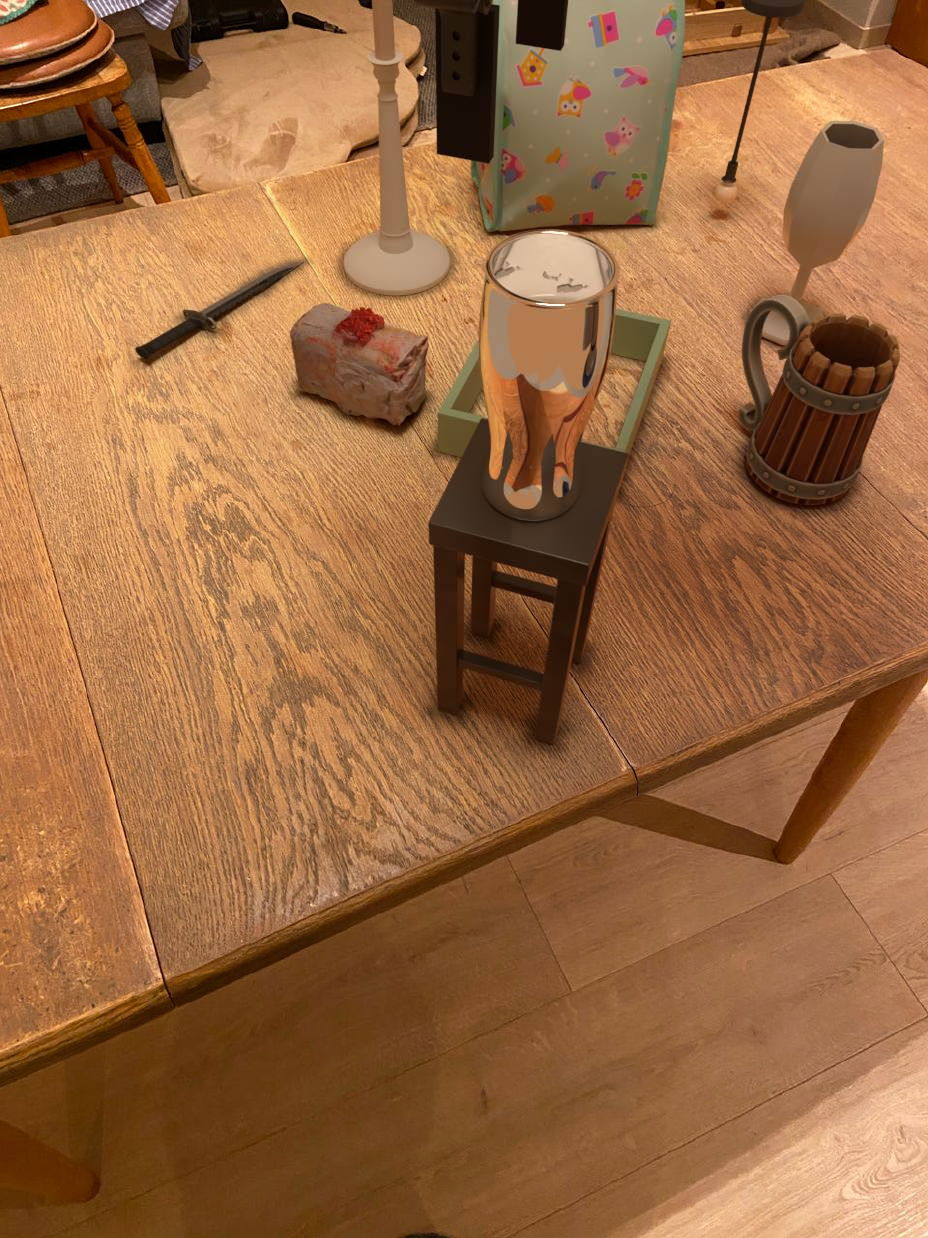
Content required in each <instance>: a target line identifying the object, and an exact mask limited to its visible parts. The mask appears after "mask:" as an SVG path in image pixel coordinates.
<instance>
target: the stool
mask: <svg viewBox="0 0 928 1238" xmlns="http://www.w3.org/2000/svg"><path fill="white" fill-rule="evenodd" d="M489 448H490V429H489V422H488V419H484V418H481V420H480V421H479V423H478V425H477V427H476V429H475V431H474V433H473V435H472V437H471V439H470V441H469V443H468V445H467V447H466V449H465V451H464V453H463V455H462V457H460V459H459V461H458V463H457V465H456V467H455V469H454V470H453V473H452V475H451V477H450V479H449V481H448V483H447V485H446V486H445V489H444V490H443V492H442V495H441V497H440V499H439V501H438V503H437V505H436V506H435V509H434V510H433V513H432V514H431V516H430V518H429V520H428V522H427V524H428V528H427V529H428V544H429V545H431V546H432V553H433V554H432V555H433V557H432V558H433V589H434V590H433V591H434V623H435V624H434V625H435V656H436V657H435V658H436V659H435V661H436V693H437V695H436V696H437V710H438V711H442V712H445V713H448V714H452V715H455V716H456V715H458V712H459V710H460V708H461V705H462V702H463V699H464V670H466V671H469V672H473V673H477V674H480V675H484V676H487V677H490V678H494V679H497V680H500V681H504V682H507V683H511V684H514V685H518V686H521V687H524V688H528V689H531V690H534V691H537V692H540V696H539V702H538V709H537V714H536V715H537V716H536V723H535V728H534V729H535V730H534V737H533V739H534V740H536V741H539V742H542V743H546V744H549V745H554V744H555V742H556V739H557V736H558V733H559V730H560V725H561V720H562V714H563V710H564V704H565V699H566V694H567V689H568V683H569V678H570V672H571V667H572V663H574V664H578V665H580V664H581V662H582V660H583V657H584V654H585V650H586V647H587V642H588V638H589V631H590V627H591V622H592V617H593V612H594V607H595V602H596V597H597V593H598V588H599V584H600V579H601V574H602V568H603V565H604V564H603V563H604V559H605V554H606V549H607V544H608V540H609V535H610V530H611V526H612V521H613V515H614V510H615V506H616V501H617V499H618V496H619V492H620V489H621V486H622V483H623V480H624V477H625V473H626V470H627V464H628V460H629V457H628V453H625V452H621V451H617V450H613V449H608V448H604V447H600V446H596V445H592V444H588V443H583V442H581V444H580V449H579V469H580V483H581V485H580V493H579V496H578V498H577V500H576V502H575V503H574V505H573V506H572V507H571V508H570V509H569V510H568V511H566V512H565V513H563V514H561V515H559V516H557V517H555V518H551V519H547V520H542V521H525V520H519V519H515V518H512V517H509V516H507V515H505V514H503V513H501V512H499V511H498V510H496V509H495V508H494V507H493V506H492V505H491V504H490V503H489V502H488V500H487V499H486V497H485V495H484V493H483V489H482V475H483V471H484V467H485V464H486V460H487V457H488V453H489ZM466 555H467V556H471V558H472V559H471V595H470V597H471V598H470V599H471V600H470V633H471V634H475V635H477V636H481V637H485V638H489V637H490V634H491V631H492V630H493V627H494V625H495V612H496V611H495V610H496V597H497V589H499V590H503V591H506V592H509V593H513V594H517V595H519V596H524V597H527V598H531V599H534V600H538V601H542V602H546V603H549V604H553V607H552V613H551V621H550V628H549V635H548V641H547V648H546V655H545V662H544V669H543V672H541V671H538V670H534V669H530V668H527V667H523V666H520V665H517V664H514V663H510V662H507V661H504V660H500V659H496V658H493V657H490V656H488V655H483V654H479V653H476V652H473V651H470V650H466V649H464V647H465V646H464V645H465V644H464V643H465V587H466V586H465V583H466V582H465V580H466V579H465V576H466ZM499 564H501V565H504V566H508V567H511V568H515V569H518V570H523V571H527V572H530V573H534V574H537V575H541V576H545V577H549V578H552V579H556V586H555V585H551V584H547V583H544V582H541V581H536V580H533V579H530V578H525V577H522V576H518V575H514V574H511V573H507V572H504V571H500V570H498V565H499Z"/></svg>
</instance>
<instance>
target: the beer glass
mask: <svg viewBox="0 0 928 1238" xmlns="http://www.w3.org/2000/svg"><path fill="white" fill-rule="evenodd" d="M620 272H621V271H620V265H619V261H618V259H617V257H616V256H615V254H614V253H613V252H612V251H611V250H610V249H609V248H608V247H606V246H605V245H604V244H602V243H601V242H600V241H598V240H596V239H594V238H592V237H590V236H587V235H584V234H582V233H578V232H574V231H570V230H563V229H555V228H554V229H553V228H552V229H551V228H550V229H549V228H546V229H544V228H543V229H531V230H525V231H521V232H518V233H514V234H512V235H509V236H507V237H505V238H503V239H502V240H500V241H498V242H497V243H496V244H495V245H494V246H493V247H492V248H491V249H490V250H489V251H488V253H487V254H486V257H485V259H484V275H483V284H482V291H481V300H480V309H479V322H478V337H477V338H478V339H479V366H480V375H481V383H482V389H481V390H482V394H483V401H484V405H485V410H486V415H487V416H486V417H487V418H488V422H489V429H490V448H489V453H488V457H487V460H486V464H485V467H484V471H483V475H482V489H483V493H484V495H485V497H486V499H487V500H488V502H489V503H490V504H491V505H492V506H493V507H494V508H495V509H496V510H498V511H499V512H501V513H503V514H505V515H507V516H509V517H512V518H515V519H519V520H525V521H542V520H547V519H551V518H555V517H557V516H559V515H561V514H563V513H565V512H566V511H568V510H569V509H570V508H571V507H572V506H573V505H574V503H575V502H576V500H577V498H578V496H579V493H580V485H581V483H580V469H579V449H580V444H581V440H583V437H584V434H585V431H586V429H587V425H588V423H589V421H590V419H591V416H592V413H593V411H594V408H595V406H596V403H597V400H598V398H599V395H600V393H601V389H602V386H603V384H604V380H605V377H606V374H607V371H608V368H609V367H608V366H609V361H610V357H611V354H610V353H611V348H612V341H613V334H614V326H615V315H616V309H617V302H618V287H619V278H620ZM478 339H477V340H478Z"/></svg>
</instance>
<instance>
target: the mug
mask: <svg viewBox="0 0 928 1238" xmlns="http://www.w3.org/2000/svg"><path fill="white" fill-rule="evenodd" d="M770 297H771V298H769V299H767V300H765V301H763V302H760V303H759V304H758V305H756V304H755V305H756V306H755V305H754V306H753V307H752V309H753V310H752V309H751V310H752V311H751V310H750V311H751V313H750V314H749V313H748V316H747V318H746V321H745V324H744V327H743V328H744V329H743V334H742V342H741V362H742V368H743V372H744V376H745V379H746V383H747V385H748V389H749V392H750V394H751V397H752V401H753V402H754V404H753V403H752V402H748V403H746V404H744V405H741V406H740V407H739V408H738V415H737V416H738V419H739V422H740V424H741V425H742V426H743V428H745V429H746V430H747V431H751V432H752V434H751V436H750V438H749V441H748V443H747V447H746V452H745V453H746V454H745V459H746V461H745V466H746V470H747V471H748V473H749V476H750V477H751V478H752V479H753V480H754V482H755V483H756V484H757V485H758V486H759V487H760V488H761V489H762V490H763V491H765V492H766V493H768V494H770V495H771V496H773V497H774V498H777V499H779V500H781V501H783V502H787V503H791V504H795V505H804V506H817V505H824V504H827V503H832V502H835V501H836V500H839V499H841V498H842V497H844V496H845V495H846V494H847V491H849V490H850V489H851V487H852V486H853V485H854V483H856V480H857V478H858V476H859V473H860V470H861V468H862V466H863V461H864V454H865V452H866V449H867V447H868V444H869V440H870V439H871V436H872V433H873V431H874V428H875V426H876V423H877V420H878V418H879V416H880V413H881V411H882V408H883V405H884V404H885V403H886V401H887V399H888V397H889V396H890V392H891V390H892V387H893V386H894V385H893V384H894V383H895V380H896V371H897V370H898V369H897V368H898V366H899V364H900V360H901V351H900V344H899V343H900V342H899V341H898V338H897V337H896V336H895V335H893V334H889V331H888V329H887V327H886V326H884V325H883V324H881V323H879V322H873V323H872V324H870V322H869V321H870V320H869V319H868V318H867V317H865V316H862V315H858V314H853V315H851V316H850V317H849V318H847V316H846V314H844V313H841V312H840V313H839V312H836V313H831V314H830V315H829V316H824V317H821V316H820V317H818V318H816V319H814V320H813V321H812V322H811V323H809V318H808V316H807V313H806V311H805V310H804V308H803V307H802V305H801V304H800V303H799V302H798V301H797V300H795V299H794V298H792V297H790V295H787V294H784V293H783V294H776V295H774V296H770ZM771 311H775V312H777V313H779V314H780V315H782V316H783V317H784V318H785V320H786V321H787V323H788V326H789V330H790V336H789V341H788V343H787V345H783V346H782V347H780V348H778V349H777V350H776V353H777V355H778V356H777V357H778V361H784V360H785V362H784V364H783V368H782V373H781V375H780V377H779V379H778V381H777V384H776V386H775V389H774V390H773V392H772V390H771V388H770V384H769V381H768V379H767V377H766V373H765V369H764V366H763V365H764V364H763V361H762V353H761V351H762V350H761V346H762V338H763V337H762V332H763V327H764V323H765V320H766V318H767V316H768V315H769V313H770V312H771Z"/></svg>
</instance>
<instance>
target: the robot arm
mask: <svg viewBox="0 0 928 1238" xmlns="http://www.w3.org/2000/svg"><path fill="white" fill-rule="evenodd" d="M492 2H493V0H413V3H414V4H415V5H416V6H419V7H427V8H433V9H435V11H434V12H435V14H434V15H435V16H434V17H435V22H434V23H435V25H434V26H435V107H436V108H435V110H436V111H435V113H436V115H435V117H436V119H435V120H436V122H435V123H436V124H435V125H436V126H435V127H436V129H435V130H436V155H439V156H444V157H445V156H446V157H451V158H455V159H460V160H467V161H470V162H471V161H477V162H482V163H488V164H489V163H490V161H491V160H492V158H493V157H494V134H495V110H496V86H497V61H498V37H499V13H500V5H494V4H492ZM567 9H568V0H518V8H517V26H516V44H520V45H526V46H533V47H539V48H545V49H552V50H558V51H561V50H562V48H563V47H564V41H565V30H566V20H567Z"/></svg>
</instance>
